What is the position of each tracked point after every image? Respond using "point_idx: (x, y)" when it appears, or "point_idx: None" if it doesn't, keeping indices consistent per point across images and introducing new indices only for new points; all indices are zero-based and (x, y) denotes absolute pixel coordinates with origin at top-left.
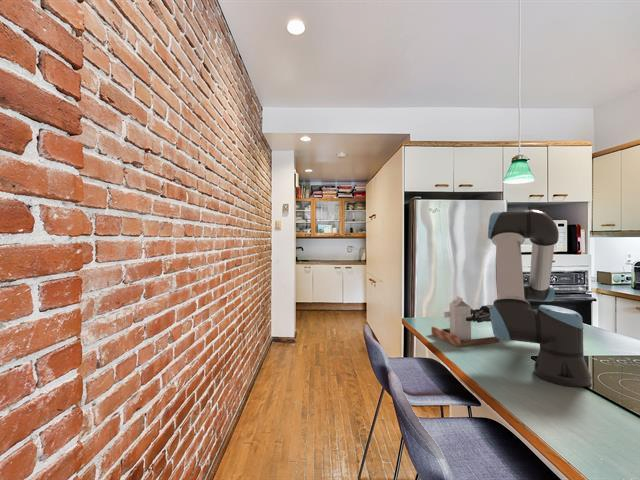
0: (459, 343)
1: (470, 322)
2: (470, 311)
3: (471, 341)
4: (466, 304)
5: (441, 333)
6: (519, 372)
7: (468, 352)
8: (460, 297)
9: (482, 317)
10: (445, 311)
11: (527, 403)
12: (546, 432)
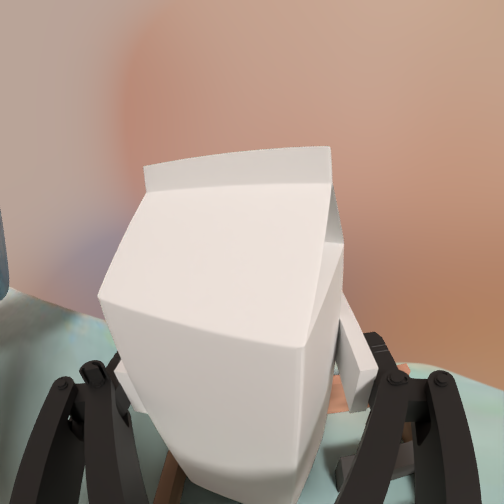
0: None
1: (153, 418)
2: (114, 340)
3: (168, 459)
4: (134, 257)
5: None
6: (4, 374)
7: None
8: (185, 159)
9: (43, 423)
10: (342, 296)
11: (11, 311)
12: (8, 293)
